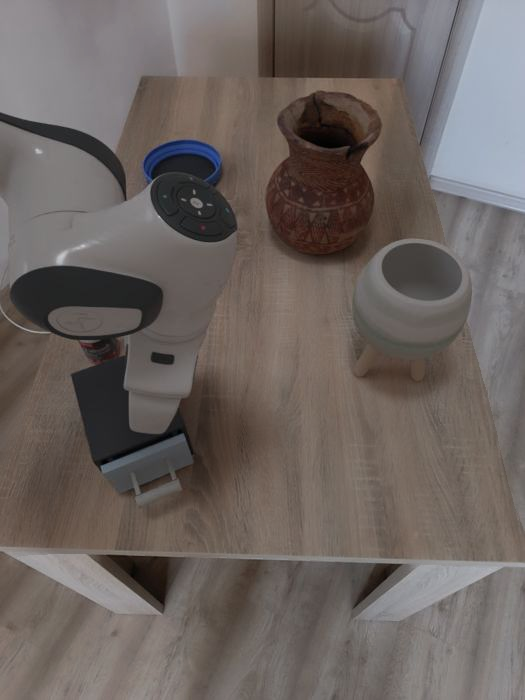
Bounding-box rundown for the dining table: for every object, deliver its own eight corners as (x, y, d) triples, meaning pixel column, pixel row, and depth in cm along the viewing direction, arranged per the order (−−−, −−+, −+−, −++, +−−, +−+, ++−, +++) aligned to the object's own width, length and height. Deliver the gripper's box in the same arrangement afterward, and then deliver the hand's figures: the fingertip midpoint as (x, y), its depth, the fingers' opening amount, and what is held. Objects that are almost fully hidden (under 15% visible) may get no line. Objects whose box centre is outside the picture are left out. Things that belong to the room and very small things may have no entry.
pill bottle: (88, 369, 81) (68, 334, 73) (86, 343, 84) (66, 307, 76) (122, 361, 82) (106, 326, 74) (118, 335, 85) (103, 299, 77)
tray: (205, 493, 68) (198, 473, 61) (128, 527, 65) (111, 510, 59) (166, 390, 78) (156, 363, 71) (97, 416, 75) (80, 390, 68)
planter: (450, 393, 78) (507, 306, 59) (356, 411, 76) (384, 327, 58) (413, 317, 87) (453, 221, 68) (328, 332, 85) (345, 237, 67)
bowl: (231, 158, 115) (230, 144, 112) (208, 205, 105) (207, 191, 102) (161, 147, 118) (159, 134, 115) (133, 193, 108) (129, 179, 105)
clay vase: (383, 257, 96) (415, 142, 75) (284, 279, 92) (289, 165, 72) (342, 190, 108) (360, 75, 87) (253, 208, 104) (250, 93, 84)
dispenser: (194, 453, 72) (185, 425, 64) (113, 487, 70) (92, 461, 61) (166, 378, 80) (154, 344, 72) (91, 406, 77) (70, 373, 69)
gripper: (148, 232, 53) (137, 301, 65) (121, 399, 43) (114, 446, 55) (203, 244, 55) (183, 309, 67) (189, 408, 45) (168, 451, 56)
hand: (152, 372), depth 61 cm, fingers open, 8 cm apart
